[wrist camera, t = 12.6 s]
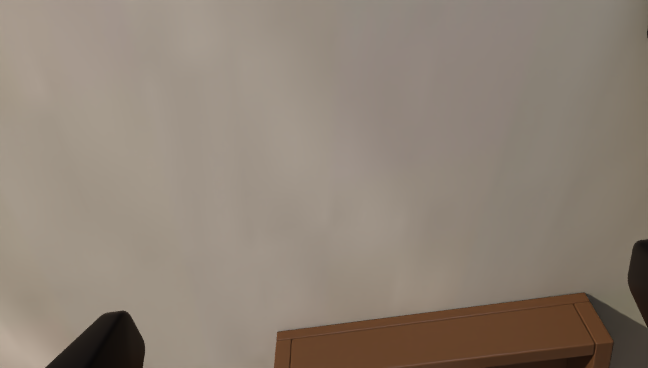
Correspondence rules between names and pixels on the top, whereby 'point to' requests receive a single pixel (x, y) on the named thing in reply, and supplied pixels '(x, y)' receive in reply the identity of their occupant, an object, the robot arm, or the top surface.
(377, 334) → the tray
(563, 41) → the top surface
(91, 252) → the top surface
